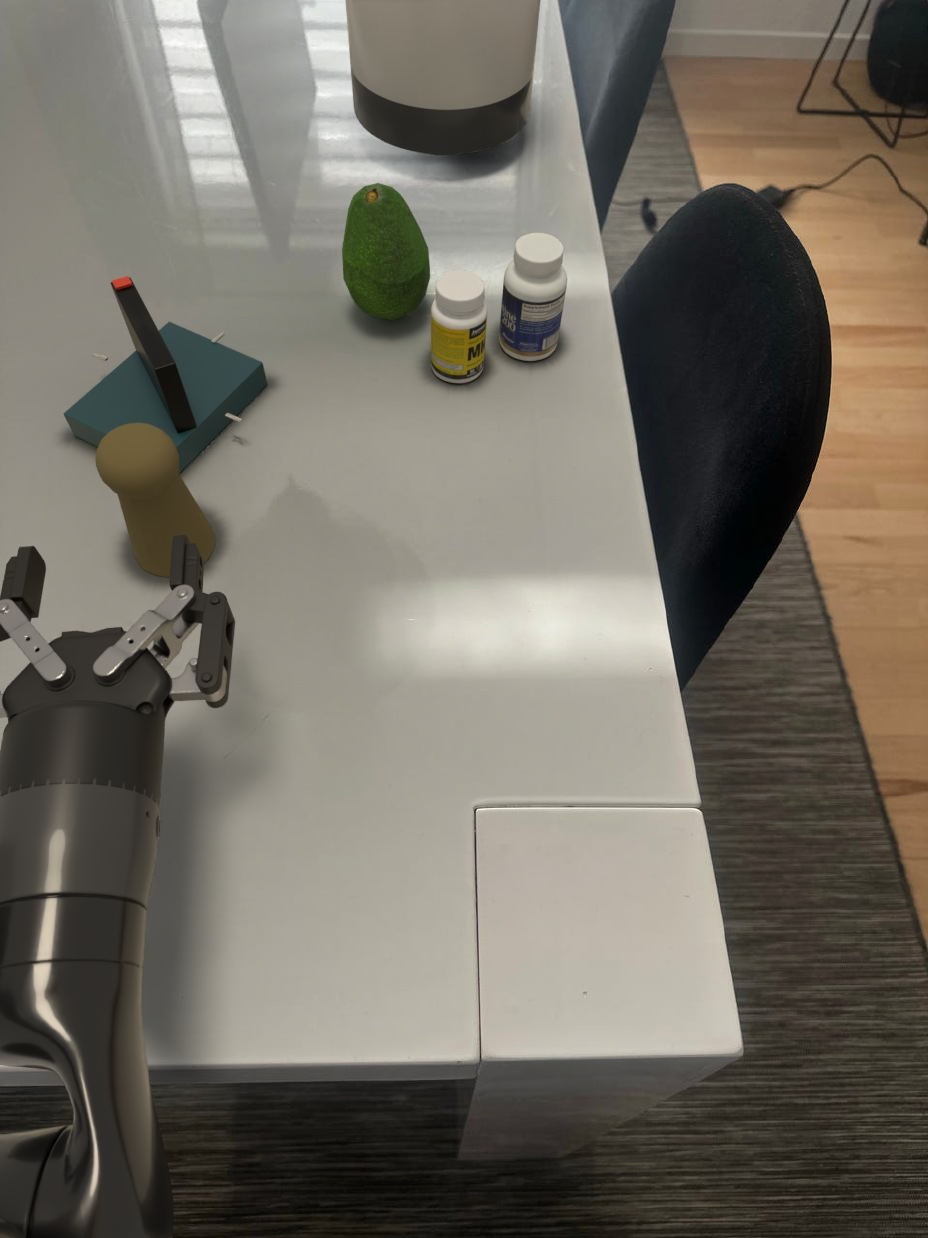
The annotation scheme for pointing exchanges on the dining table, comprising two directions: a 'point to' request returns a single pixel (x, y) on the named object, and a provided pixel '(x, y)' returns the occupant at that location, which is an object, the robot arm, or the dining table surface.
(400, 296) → the avocado
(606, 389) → the dining table surface
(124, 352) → the dining table surface
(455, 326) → the supplement bottle
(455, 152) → the planter
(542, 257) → the pill bottle
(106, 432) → the teal base plate
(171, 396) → the red-tipped black panel
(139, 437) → the cork
